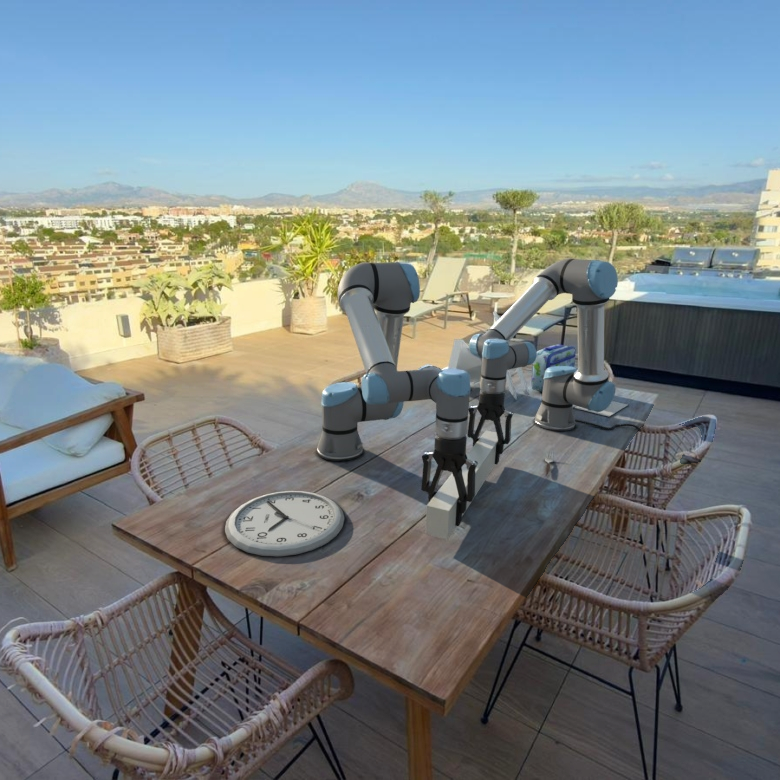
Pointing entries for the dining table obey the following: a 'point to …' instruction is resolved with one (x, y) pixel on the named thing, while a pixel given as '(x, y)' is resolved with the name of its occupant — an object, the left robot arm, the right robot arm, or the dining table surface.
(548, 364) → the lunch box
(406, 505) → the dining table surface
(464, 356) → the white plastic object
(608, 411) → the invitation card
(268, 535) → the wall clock
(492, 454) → the beam
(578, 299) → the right robot arm
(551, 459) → the fork
